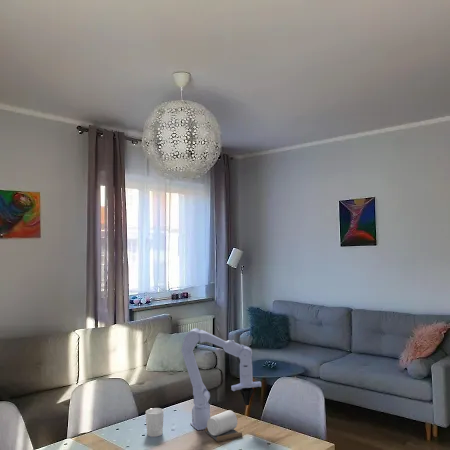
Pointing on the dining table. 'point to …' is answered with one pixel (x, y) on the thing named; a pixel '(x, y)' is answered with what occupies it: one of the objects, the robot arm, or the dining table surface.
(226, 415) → the beverage can
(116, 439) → the dining table surface
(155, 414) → the white cup
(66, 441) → the dining table surface
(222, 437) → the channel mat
